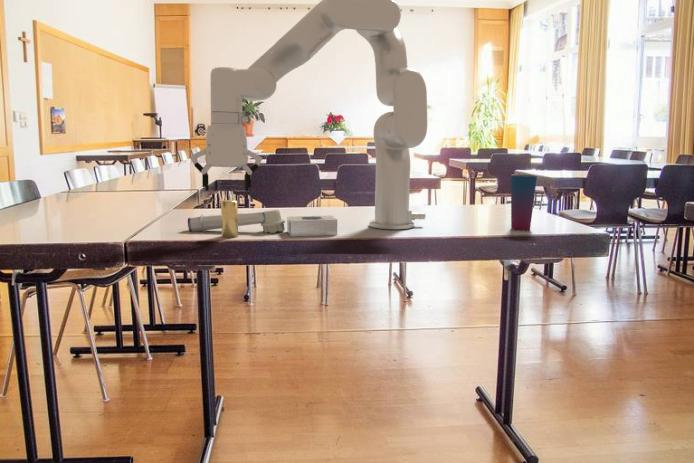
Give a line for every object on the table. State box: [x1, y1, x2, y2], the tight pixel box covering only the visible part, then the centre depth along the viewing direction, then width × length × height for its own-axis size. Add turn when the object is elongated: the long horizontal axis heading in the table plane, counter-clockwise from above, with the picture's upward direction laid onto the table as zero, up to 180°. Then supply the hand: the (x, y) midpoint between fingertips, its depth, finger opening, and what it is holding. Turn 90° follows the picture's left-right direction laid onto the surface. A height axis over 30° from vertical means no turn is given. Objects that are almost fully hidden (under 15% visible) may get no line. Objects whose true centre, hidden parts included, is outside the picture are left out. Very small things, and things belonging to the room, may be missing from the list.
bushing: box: [220, 199, 239, 239], centre depth 148 cm, size 4×4×9 cm
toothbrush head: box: [187, 208, 286, 234], centre depth 156 cm, size 5×7×25 cm
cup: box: [510, 173, 538, 231], centre depth 162 cm, size 7×7×15 cm
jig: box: [286, 215, 338, 237], centre depth 154 cm, size 12×7×4 cm, turn 104°
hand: (226, 190), depth 146 cm, fingers open, 9 cm apart
